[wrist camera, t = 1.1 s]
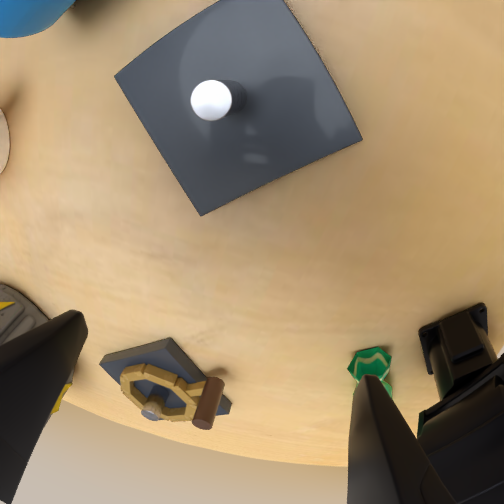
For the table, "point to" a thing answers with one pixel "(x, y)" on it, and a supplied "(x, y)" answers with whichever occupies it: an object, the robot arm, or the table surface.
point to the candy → (371, 365)
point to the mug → (4, 142)
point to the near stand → (237, 100)
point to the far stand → (165, 358)
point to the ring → (196, 408)
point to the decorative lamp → (21, 323)
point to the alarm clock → (30, 16)
